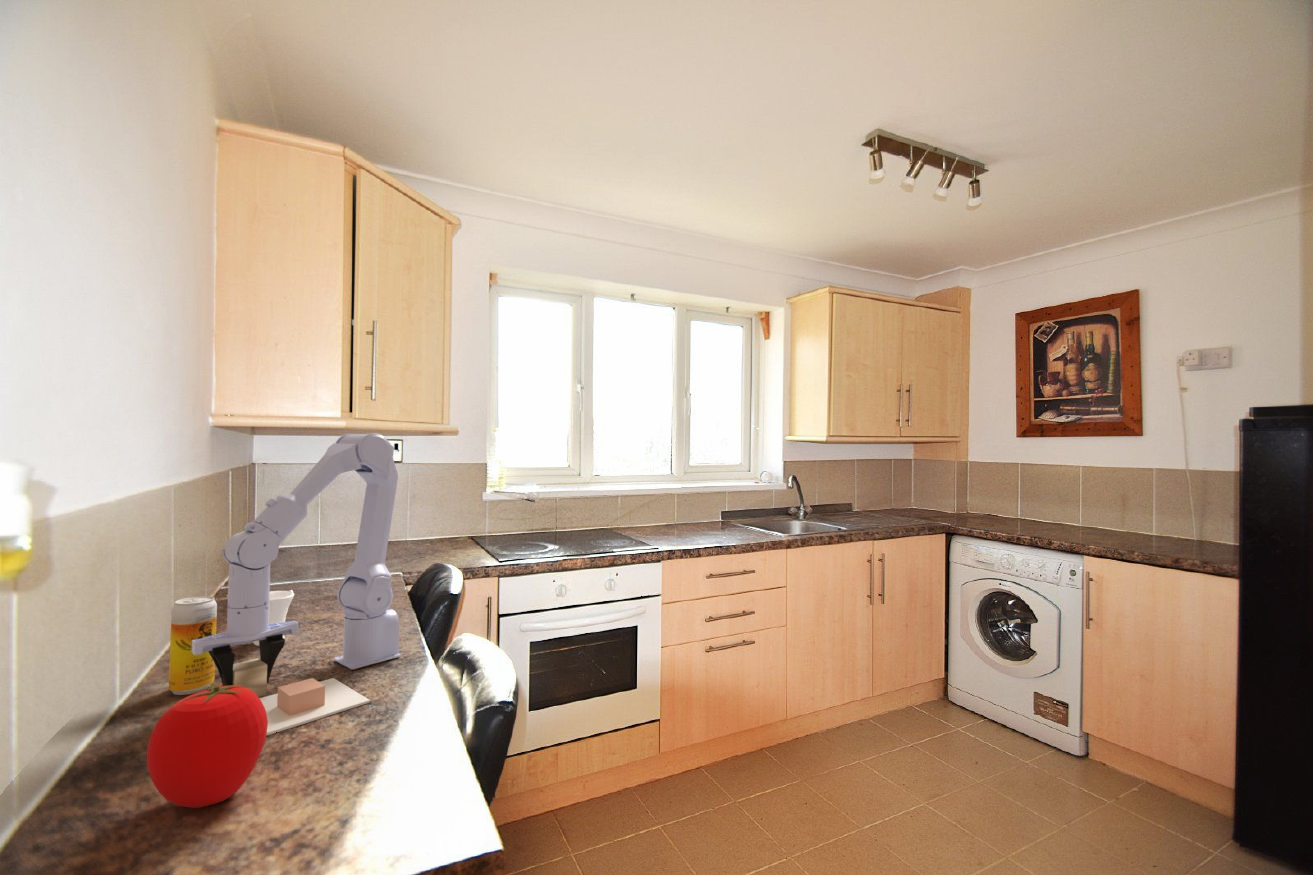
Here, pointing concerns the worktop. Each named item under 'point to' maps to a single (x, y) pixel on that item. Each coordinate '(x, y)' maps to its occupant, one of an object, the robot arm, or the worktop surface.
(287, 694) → the terracotta block
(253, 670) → the maple block
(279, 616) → the cup
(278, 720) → the build mat
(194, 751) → the tomato
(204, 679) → the beer can
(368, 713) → the worktop surface
